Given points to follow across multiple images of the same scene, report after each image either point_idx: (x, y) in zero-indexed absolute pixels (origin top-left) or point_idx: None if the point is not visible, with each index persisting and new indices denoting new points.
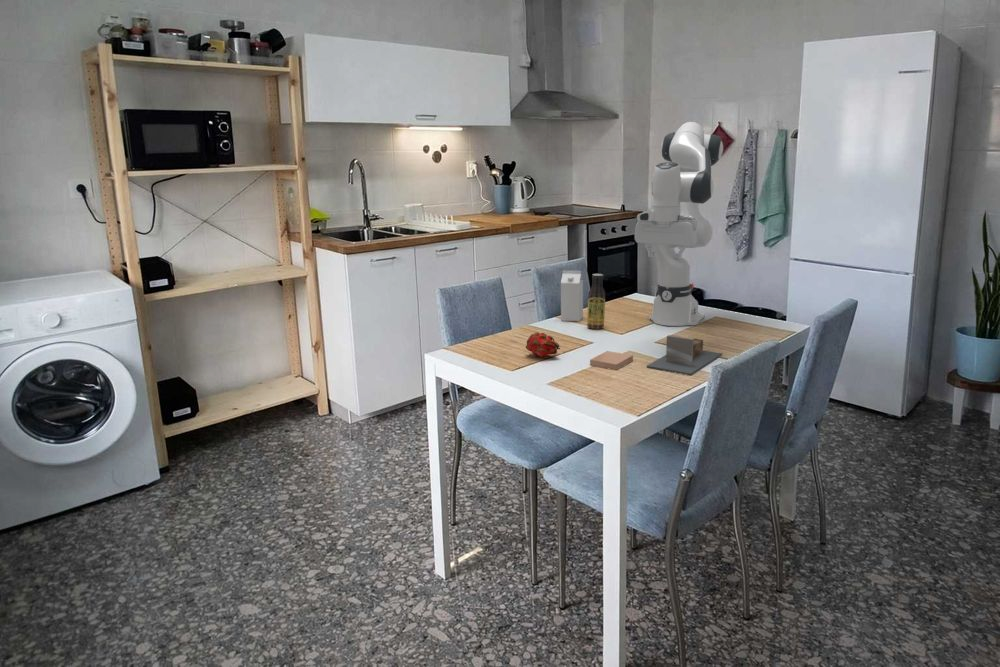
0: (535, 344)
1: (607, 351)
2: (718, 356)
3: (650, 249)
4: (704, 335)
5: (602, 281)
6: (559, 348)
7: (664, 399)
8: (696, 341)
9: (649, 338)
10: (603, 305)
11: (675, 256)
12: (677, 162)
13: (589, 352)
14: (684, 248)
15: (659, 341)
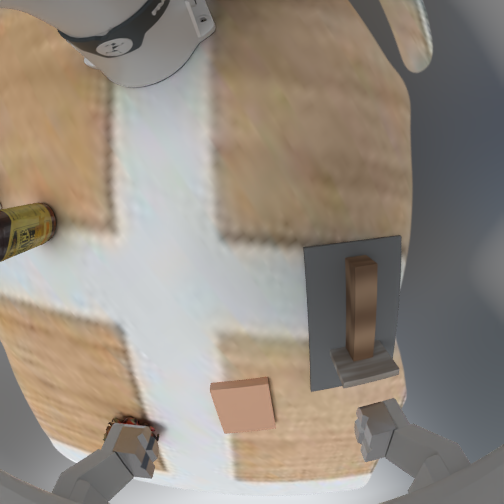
0: None
1: (212, 392)
2: (400, 257)
3: (107, 472)
4: (287, 97)
5: None
6: (158, 436)
7: None
8: (369, 285)
9: (187, 215)
10: (22, 231)
11: (362, 446)
12: None
13: (168, 380)
14: (451, 456)
15: (225, 223)
